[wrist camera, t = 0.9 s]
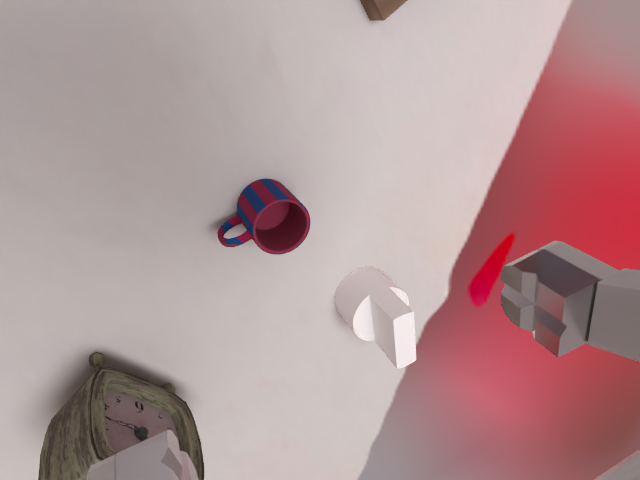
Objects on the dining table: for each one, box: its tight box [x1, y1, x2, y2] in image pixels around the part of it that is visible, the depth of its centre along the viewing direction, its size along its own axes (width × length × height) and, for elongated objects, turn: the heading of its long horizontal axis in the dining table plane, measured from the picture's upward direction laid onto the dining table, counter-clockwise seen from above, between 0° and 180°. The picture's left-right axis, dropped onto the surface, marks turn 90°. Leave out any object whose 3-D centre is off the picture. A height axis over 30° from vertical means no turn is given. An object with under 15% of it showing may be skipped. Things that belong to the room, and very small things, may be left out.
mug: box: [218, 179, 310, 254], centre depth 50 cm, size 7×10×7 cm
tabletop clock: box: [38, 353, 204, 480], centre depth 46 cm, size 14×9×25 cm, turn 43°
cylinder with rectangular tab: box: [335, 266, 416, 369], centre depth 61 cm, size 9×9×12 cm
